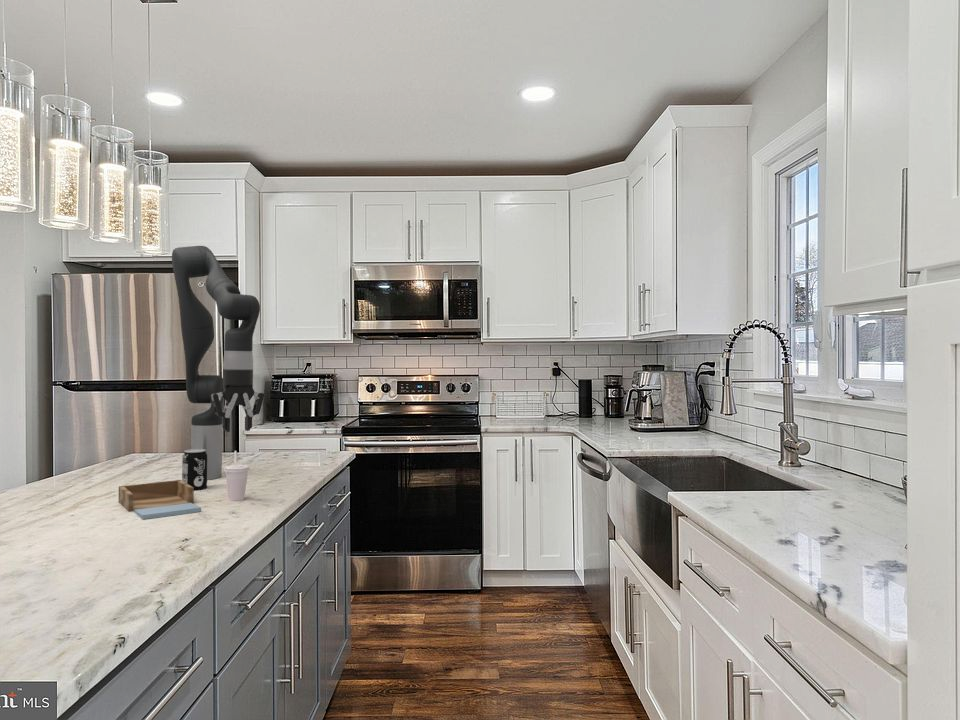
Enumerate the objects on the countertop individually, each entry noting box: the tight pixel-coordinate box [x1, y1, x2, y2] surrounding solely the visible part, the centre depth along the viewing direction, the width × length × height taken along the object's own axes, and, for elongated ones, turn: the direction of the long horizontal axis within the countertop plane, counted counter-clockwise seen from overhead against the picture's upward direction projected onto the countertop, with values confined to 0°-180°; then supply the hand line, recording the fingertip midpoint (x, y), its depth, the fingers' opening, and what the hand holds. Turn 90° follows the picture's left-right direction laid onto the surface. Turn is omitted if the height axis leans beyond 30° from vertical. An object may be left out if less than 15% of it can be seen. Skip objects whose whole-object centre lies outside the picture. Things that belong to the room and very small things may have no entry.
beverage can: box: [181, 448, 208, 492], centre depth 181 cm, size 7×7×12 cm
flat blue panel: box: [133, 502, 202, 520], centre depth 154 cm, size 1×13×10 cm
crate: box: [118, 479, 195, 513], centre depth 163 cm, size 13×15×5 cm
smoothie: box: [223, 450, 250, 502], centre depth 168 cm, size 6×6×14 cm
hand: (237, 430), depth 168 cm, fingers open, 4 cm apart
